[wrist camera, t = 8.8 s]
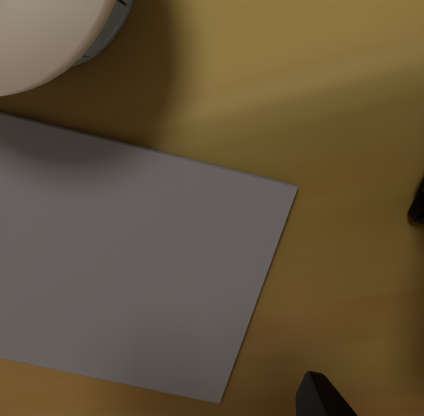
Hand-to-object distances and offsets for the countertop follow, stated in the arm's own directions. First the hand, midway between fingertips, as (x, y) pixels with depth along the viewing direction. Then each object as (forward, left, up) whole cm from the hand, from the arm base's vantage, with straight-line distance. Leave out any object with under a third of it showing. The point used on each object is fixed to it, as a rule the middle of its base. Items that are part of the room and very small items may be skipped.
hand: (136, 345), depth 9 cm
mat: (+3, +7, -12) cm, 14 cm away
